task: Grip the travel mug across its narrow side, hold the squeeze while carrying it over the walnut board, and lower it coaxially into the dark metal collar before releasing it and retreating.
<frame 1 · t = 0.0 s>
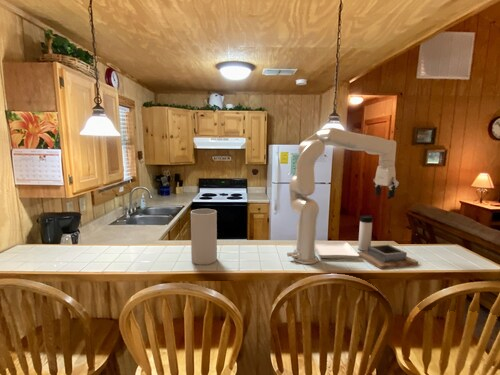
hand: (384, 196, 146), 31 cm above the breakfast bar counter, tool pointing down, fingers open, 9 cm apart
metal collar: (386, 253, 139), on the walnut board, point 4 cm above the breakfast bar counter
salad plate: (333, 253, 148), on the breakfast bar counter
travel mug: (364, 250, 152), on the breakfast bar counter
cylinder vase: (204, 260, 137), on the breakfast bar counter
walnut board: (385, 259, 139), on the breakfast bar counter
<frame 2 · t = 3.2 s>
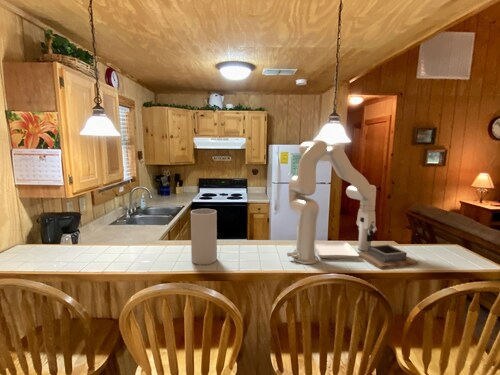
hand: (365, 238, 151), 7 cm above the breakfast bar counter, tool pointing down, fingers closed on travel mug, 6 cm apart
travel mug: (364, 250, 152), on the breakfast bar counter, touching gripper
everything else where it was.
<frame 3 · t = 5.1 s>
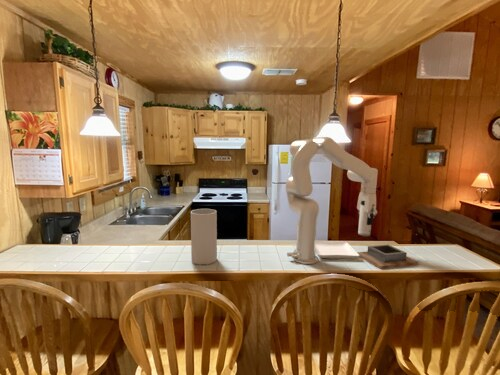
hand: (365, 222, 150), 16 cm above the breakfast bar counter, tool pointing down, fingers closed on travel mug, 6 cm apart
travel mug: (364, 235, 151), point 9 cm above the breakfast bar counter, touching gripper
everything else where it was.
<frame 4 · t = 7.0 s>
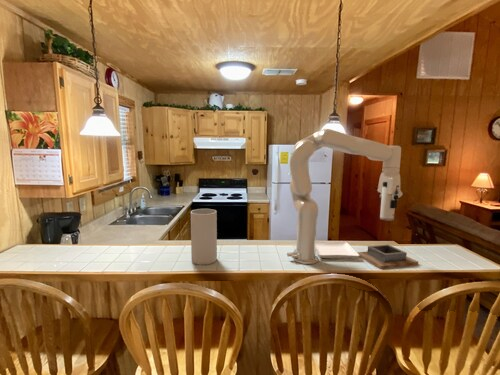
hand: (388, 206, 137), 28 cm above the breakfast bar counter, tool pointing down, fingers closed on travel mug, 6 cm apart
travel mug: (387, 219, 138), point 21 cm above the breakfast bar counter, touching gripper
everything else where it was.
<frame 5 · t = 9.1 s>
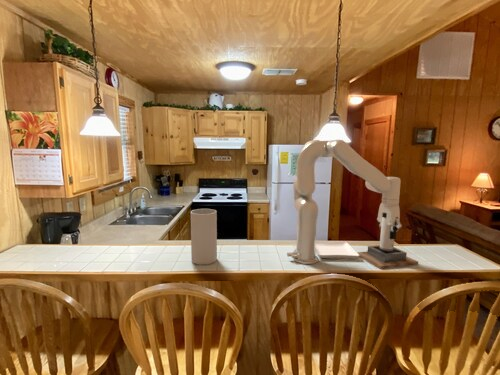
hand: (387, 236, 138), 12 cm above the breakfast bar counter, tool pointing down, fingers closed on travel mug, 6 cm apart
travel mug: (386, 249, 139), point 5 cm above the breakfast bar counter, touching gripper
everything else where it was.
when the fingers open (9 cm above the breakfast bar counter, at t = 10.6 s): travel mug stays where it is, resting on walnut board.
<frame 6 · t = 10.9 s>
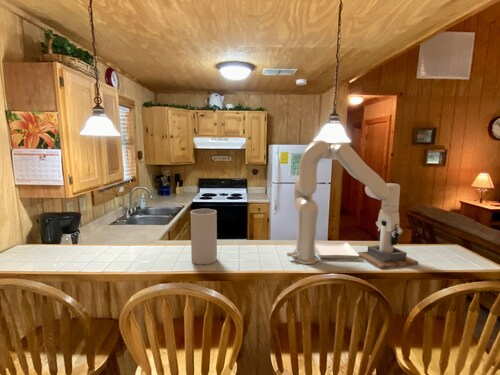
hand: (387, 241, 138), 10 cm above the breakfast bar counter, tool pointing down, fingers open, 8 cm apart
travel mug: (385, 257, 139), point 1 cm above the breakfast bar counter, touching walnut board
everything else where it was.
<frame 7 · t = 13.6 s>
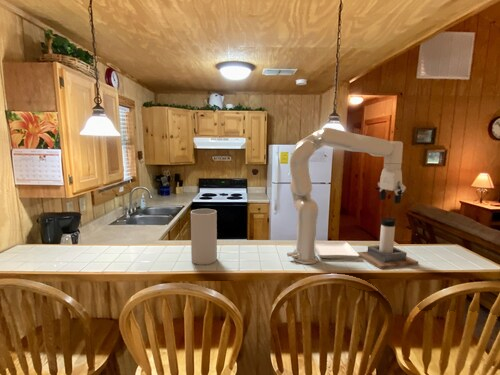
hand: (389, 201, 136), 30 cm above the breakfast bar counter, tool pointing down, fingers open, 9 cm apart
nothing on the breakfast bar counter moved.
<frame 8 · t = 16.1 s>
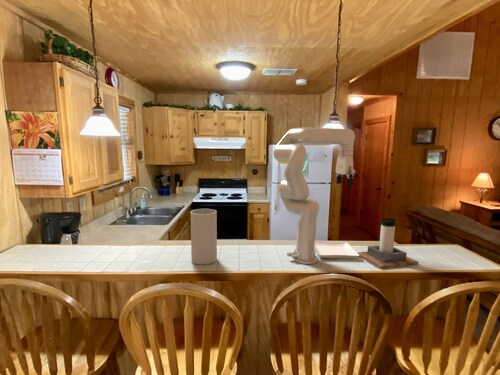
hand: (343, 184, 153), 36 cm above the breakfast bar counter, tool pointing down, fingers open, 9 cm apart
nothing on the breakfast bar counter moved.
at the end: travel mug 0.1 cm off-centre on the metal collar, point 1.3 cm above the metal collar's base; travel mug tilted 0°; the gripper is holding nothing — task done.
